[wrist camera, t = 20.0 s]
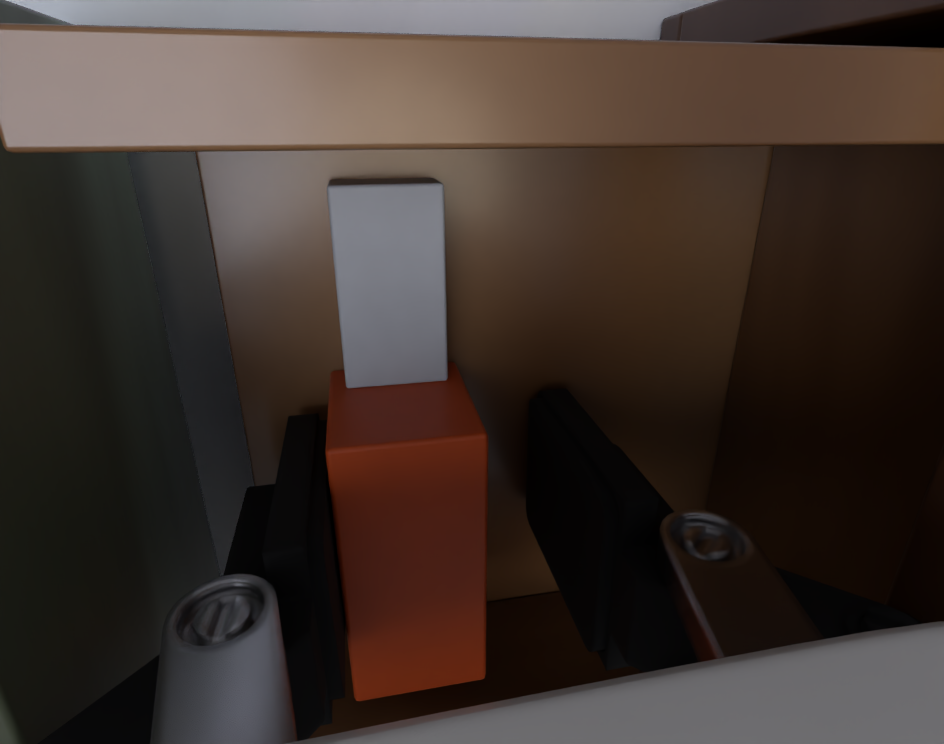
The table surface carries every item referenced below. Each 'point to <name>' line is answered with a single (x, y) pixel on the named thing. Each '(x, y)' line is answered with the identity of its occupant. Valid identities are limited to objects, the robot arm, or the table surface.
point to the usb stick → (403, 448)
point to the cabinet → (861, 24)
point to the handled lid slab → (464, 305)
